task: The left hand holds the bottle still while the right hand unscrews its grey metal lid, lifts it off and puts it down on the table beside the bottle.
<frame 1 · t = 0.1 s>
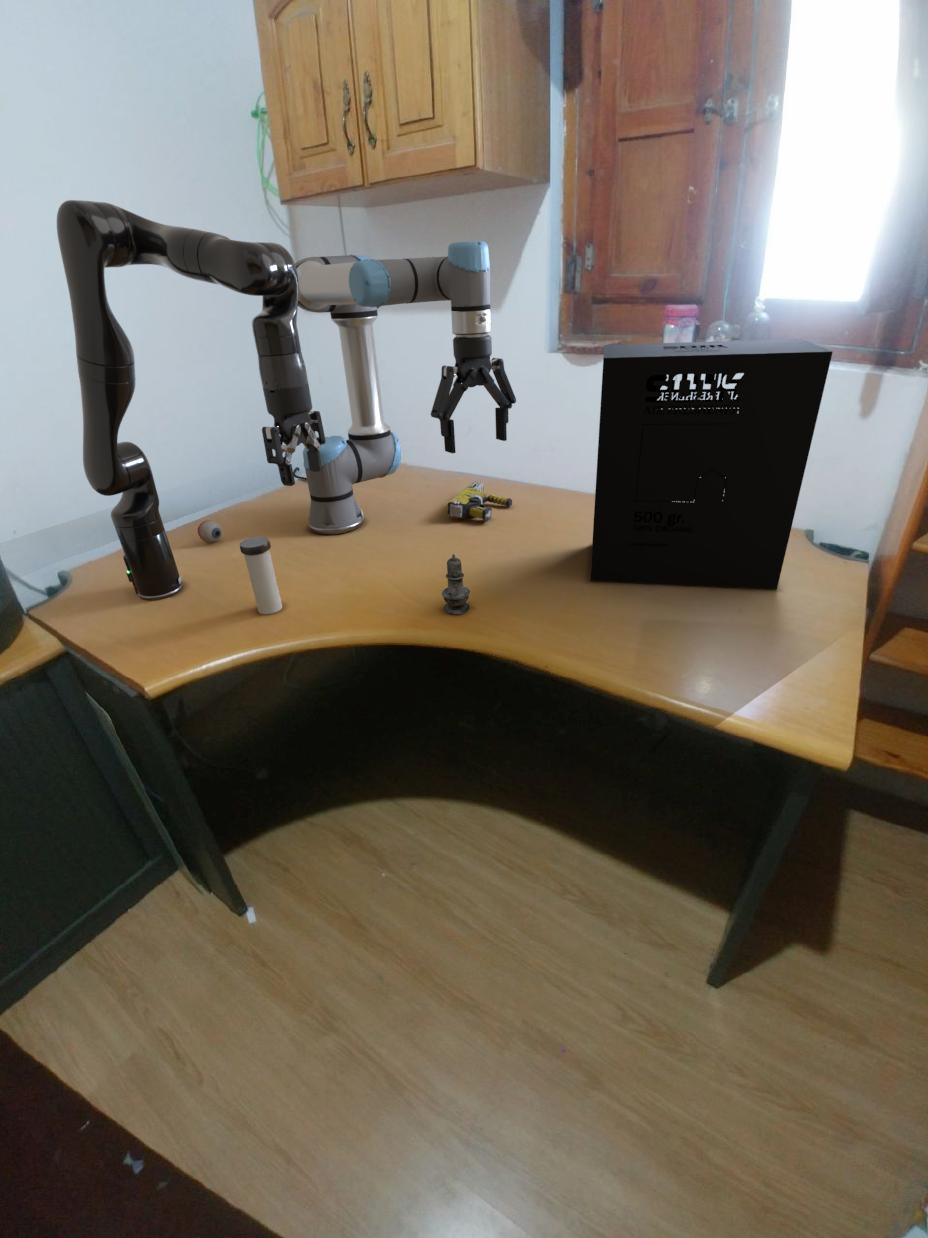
left hand: (303, 477, 109), 29 cm above the table, tool pointing down, fingers open, 8 cm apart
right hand: (476, 445, 127), 28 cm above the table, tool pointing down, fingers open, 13 cm apart
lid: (254, 543, 121), point 15 cm above the table, screwed on, not yet turned
dark grey tiered figure: (457, 608, 124), on the table
eyeball: (213, 542, 163), on the table
cardboard box: (676, 565, 136), on the table
bottle: (270, 608, 128), on the table
toy gun: (484, 508, 175), on the table
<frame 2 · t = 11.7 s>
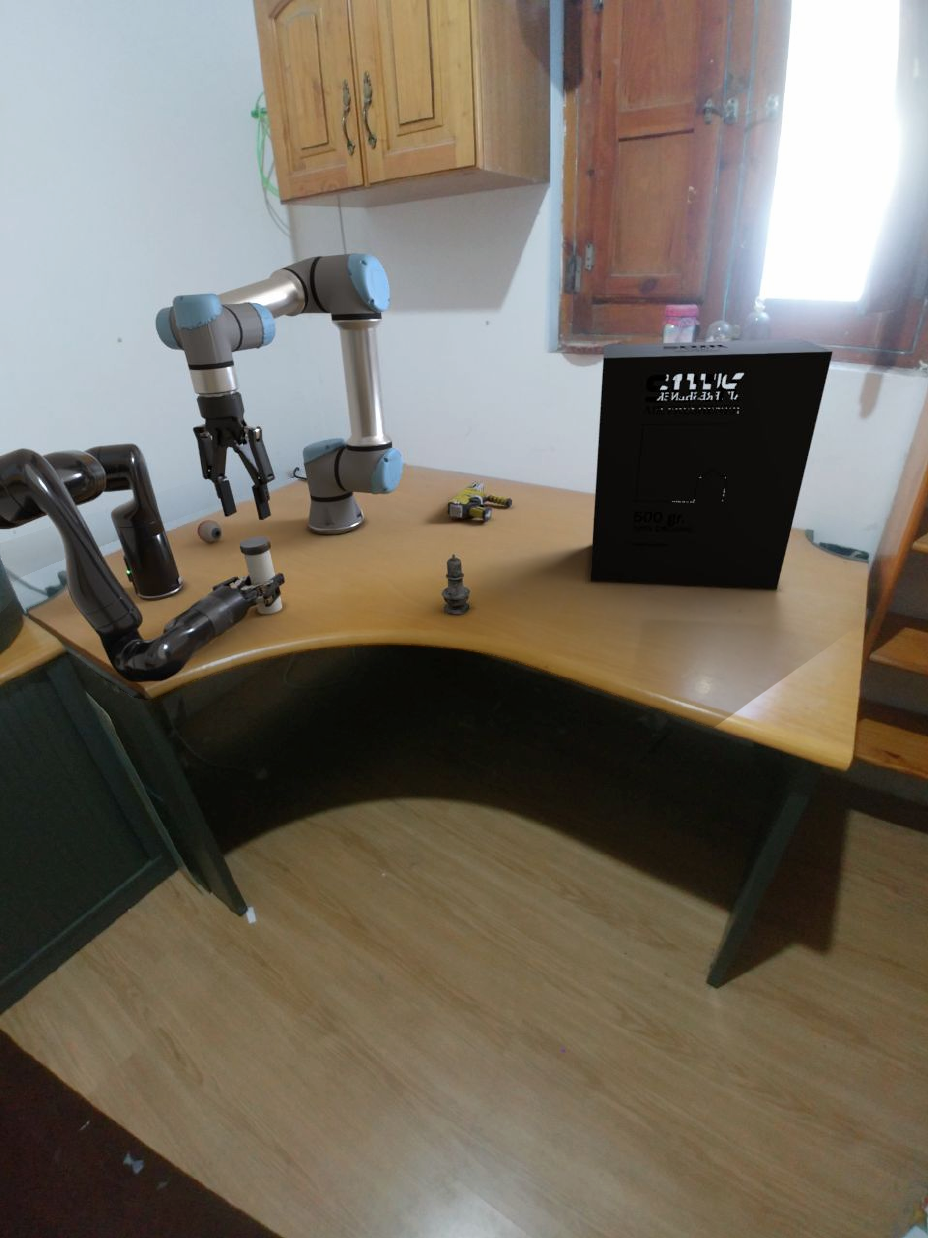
left hand: (271, 575, 127), 7 cm above the table, tool horizontal, fingers closed on bottle, 5 cm apart
right hand: (247, 515, 118), 21 cm above the table, tool pointing down, fingers open, 7 cm apart
bottle: (270, 608, 128), on the table, touching left hand
everything else where it was.
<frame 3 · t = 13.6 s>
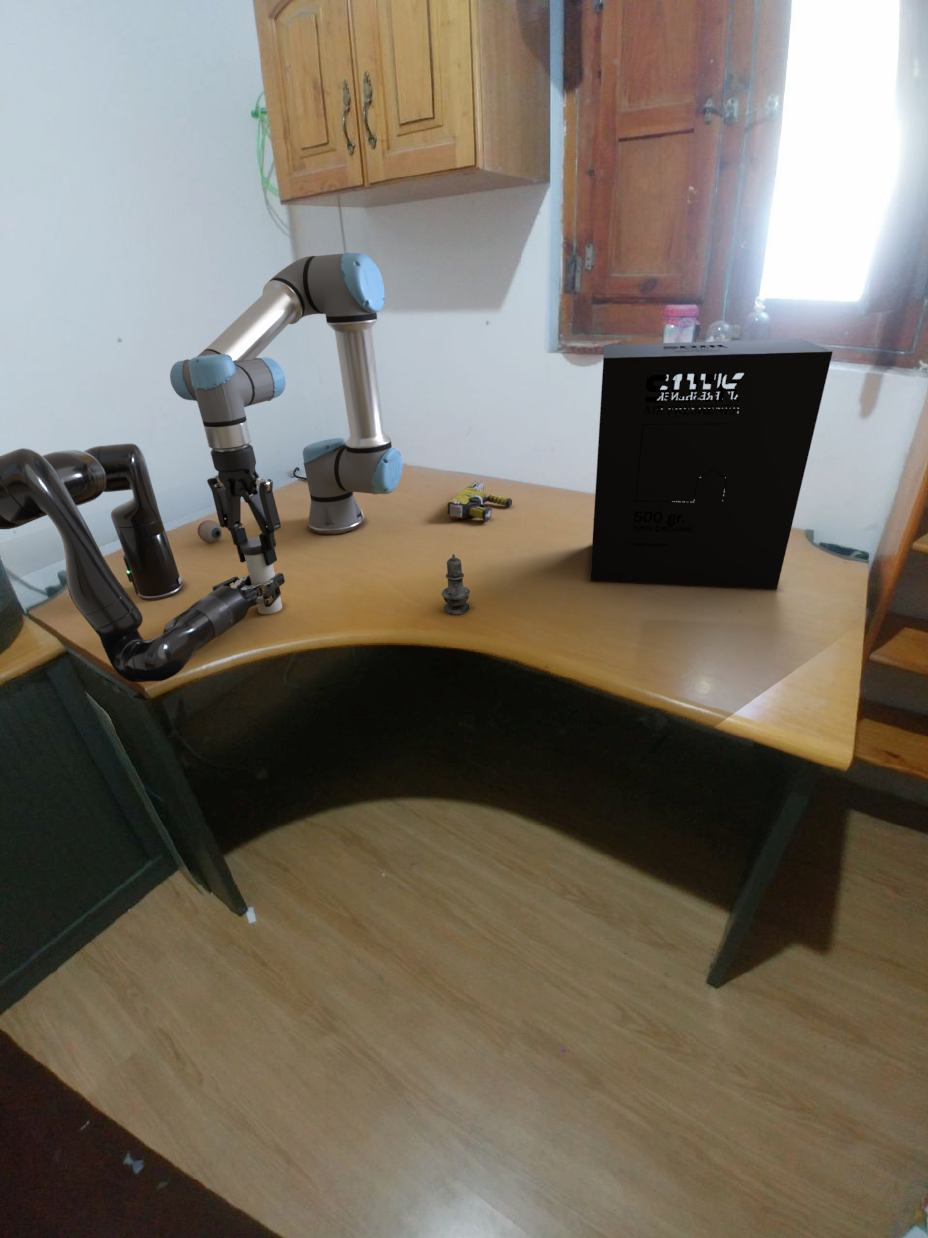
left hand: (271, 575, 127), 7 cm above the table, tool horizontal, fingers closed on bottle, 5 cm apart
right hand: (258, 560, 123), 11 cm above the table, tool pointing down, fingers closed on lid, 6 cm apart
lid: (254, 543, 121), point 15 cm above the table, screwed on, not yet turned, touching right hand
bottle: (270, 608, 128), on the table, touching left hand
everything else where it was.
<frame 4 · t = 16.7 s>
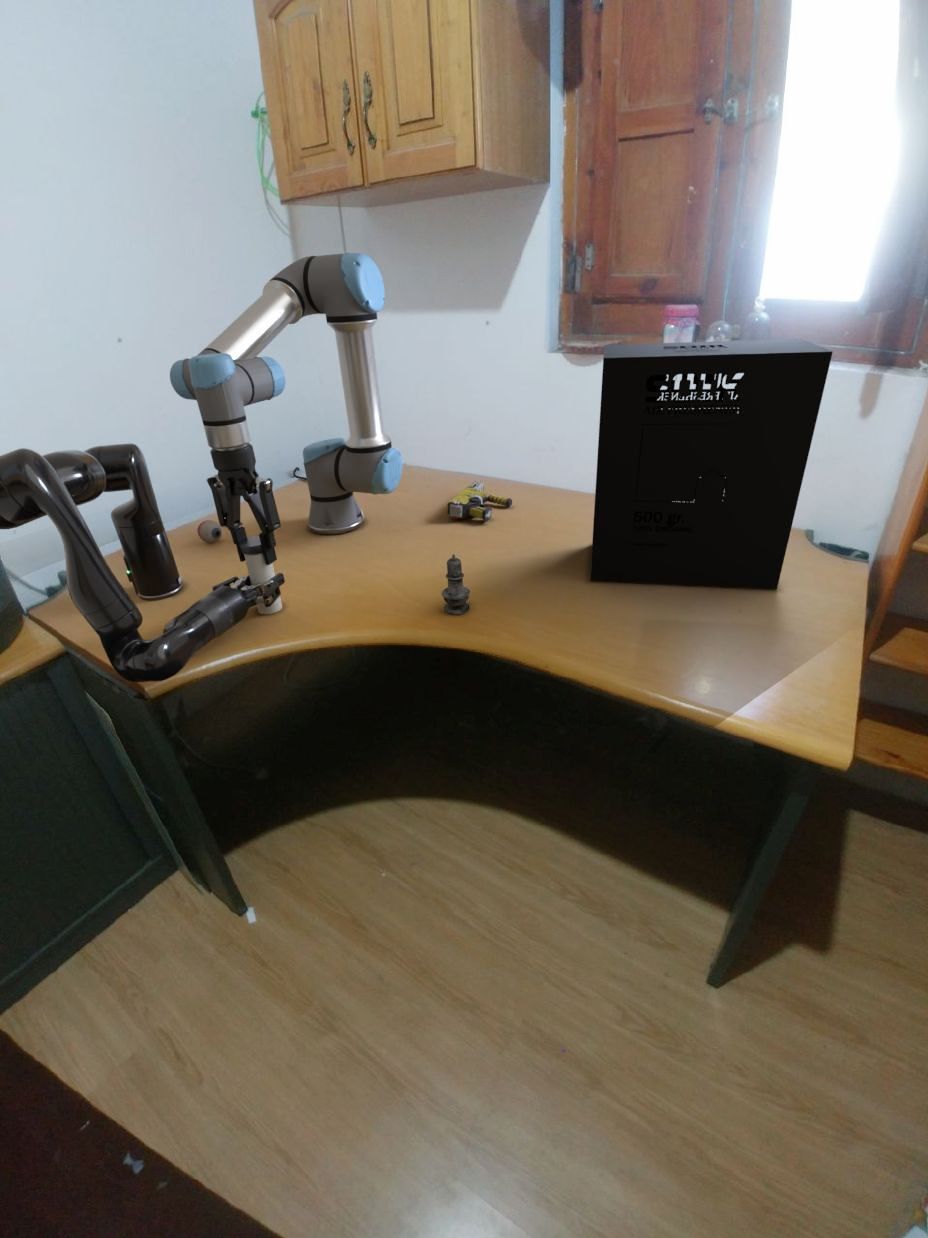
left hand: (271, 575, 127), 7 cm above the table, tool horizontal, fingers closed on bottle, 5 cm apart
right hand: (258, 560, 123), 11 cm above the table, tool pointing down, fingers closed on lid, 6 cm apart
lid: (254, 542, 121), point 15 cm above the table, turned 111° so far, risen 0.2 cm, still on its thread, touching right hand
bottle: (270, 608, 128), on the table, touching left hand
everything else where it was.
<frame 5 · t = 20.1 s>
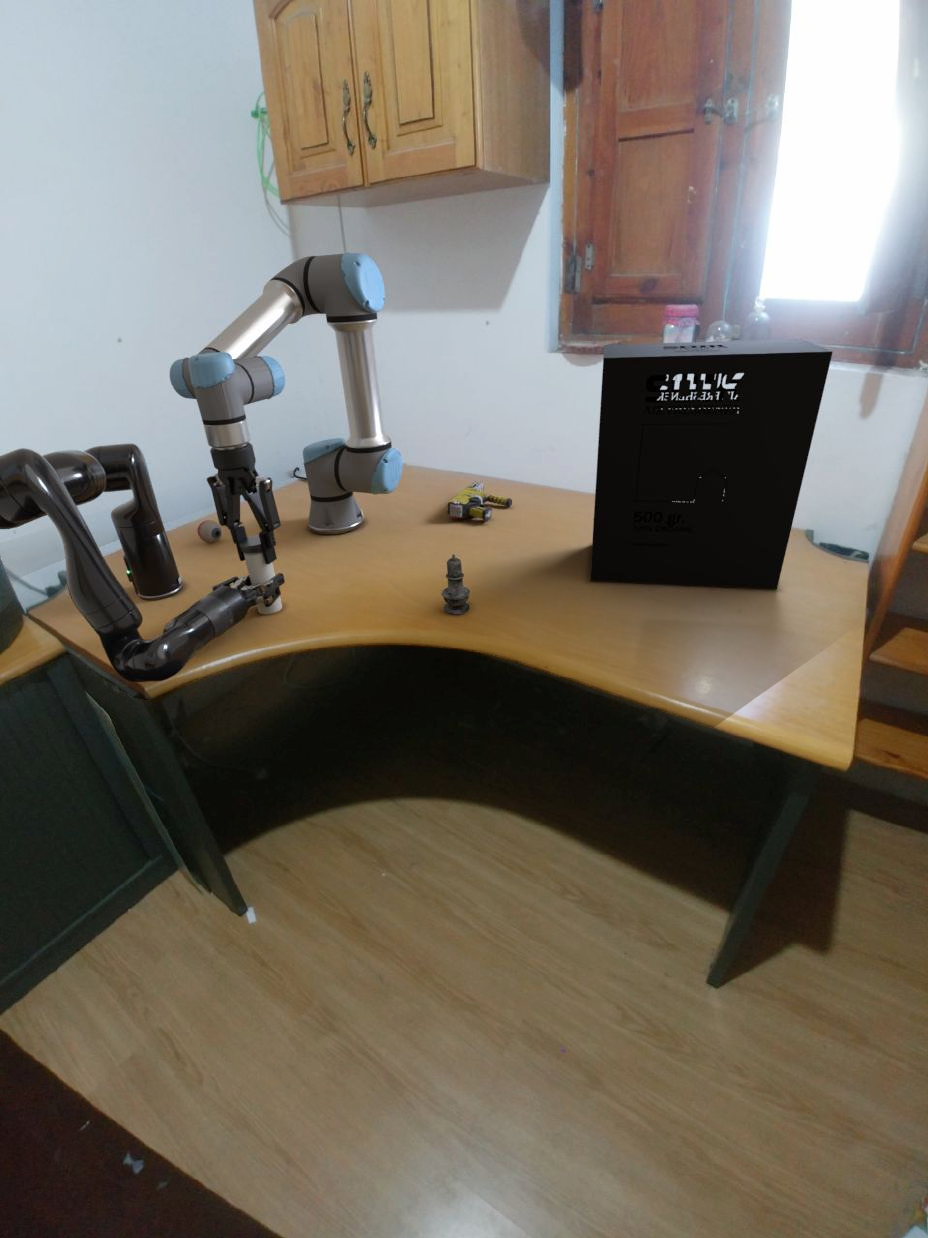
left hand: (271, 575, 127), 7 cm above the table, tool horizontal, fingers closed on bottle, 5 cm apart
right hand: (258, 559, 123), 11 cm above the table, tool pointing down, fingers closed on lid, 6 cm apart
lid: (254, 541, 121), point 15 cm above the table, turned 222° so far, risen 0.3 cm, still on its thread, touching right hand
bottle: (270, 608, 128), on the table, touching left hand
everything else where it was.
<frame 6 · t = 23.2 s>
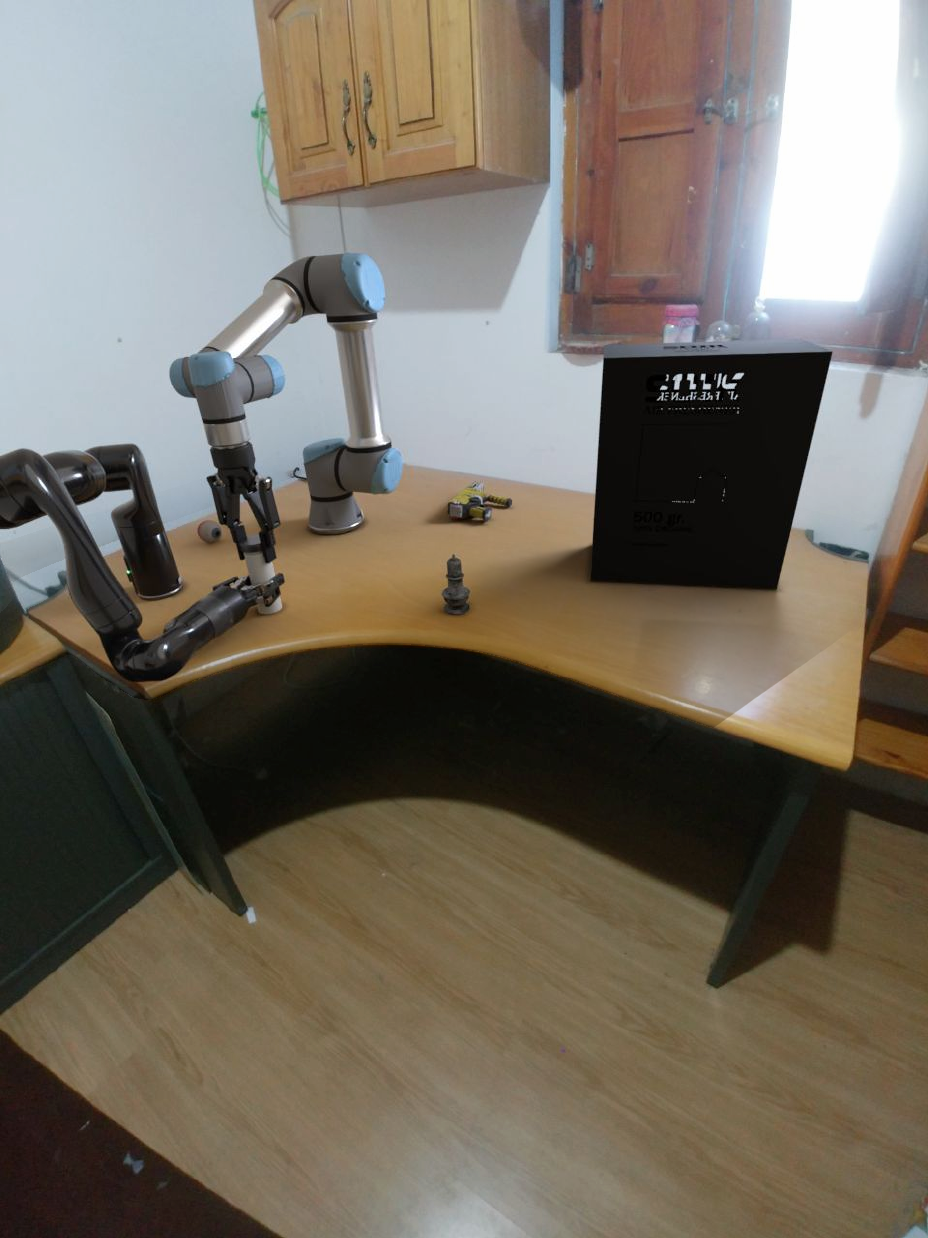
left hand: (271, 575, 127), 7 cm above the table, tool horizontal, fingers closed on bottle, 5 cm apart
right hand: (258, 558, 122), 12 cm above the table, tool pointing down, fingers closed on lid, 6 cm apart
lid: (254, 541, 121), point 15 cm above the table, turned 333° so far, risen 0.5 cm, still on its thread, touching right hand
bottle: (270, 608, 128), on the table, touching left hand
everything else where it was.
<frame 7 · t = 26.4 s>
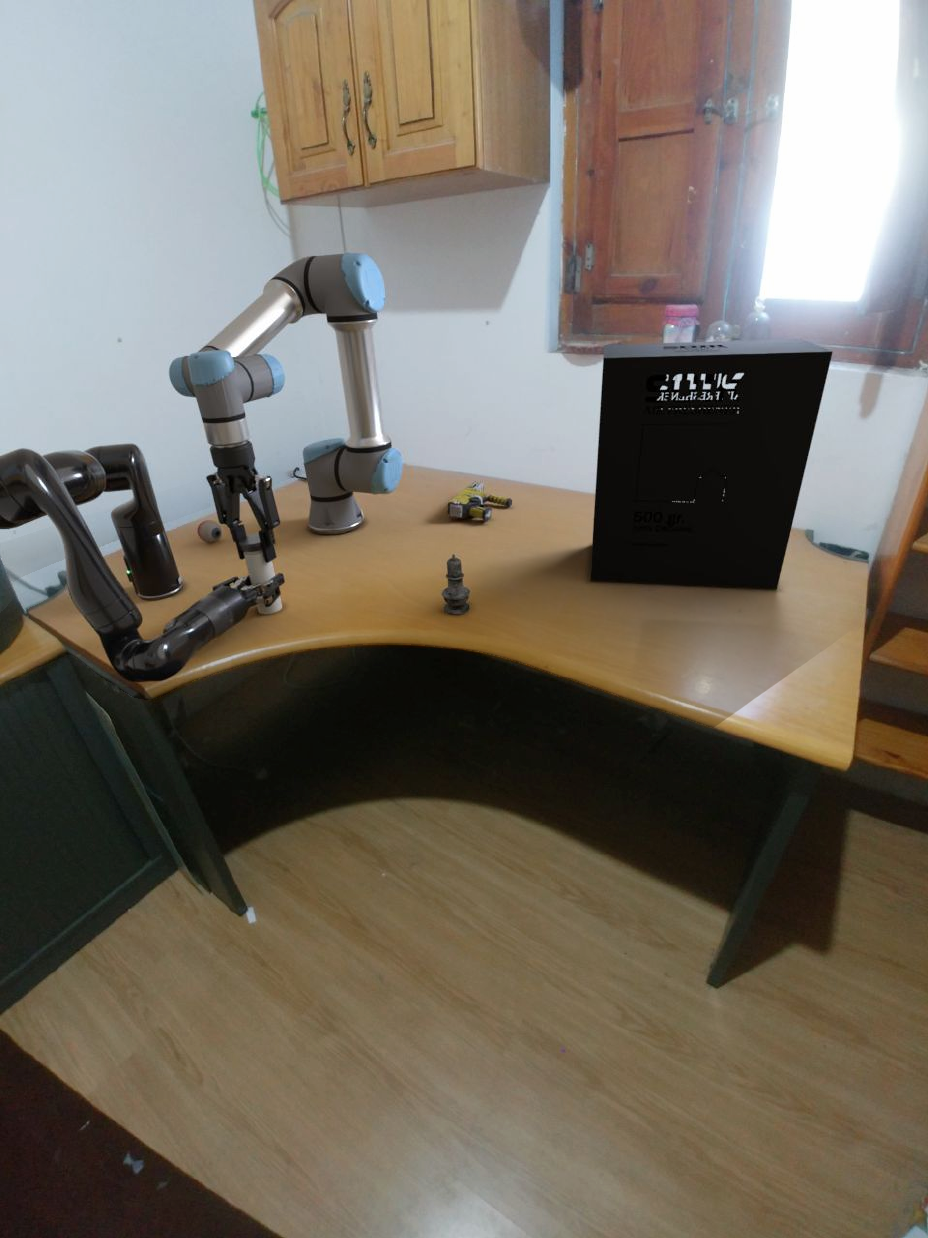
left hand: (271, 575, 127), 7 cm above the table, tool horizontal, fingers closed on bottle, 5 cm apart
right hand: (258, 558, 122), 12 cm above the table, tool pointing down, fingers closed on lid, 6 cm apart
lid: (253, 540, 120), point 16 cm above the table, turned 444° so far, risen 0.7 cm, still on its thread, touching right hand
bottle: (270, 608, 128), on the table, touching left hand
everything else where it was.
when the right hand's fingers open (0 cm above the table, at t = 33.9 s): lid drops 2 cm, point 1 cm above the table.
when the left hand's fingers open (7 cm above the table, at t = 34.6 s): bottle stays where it is, on the table.
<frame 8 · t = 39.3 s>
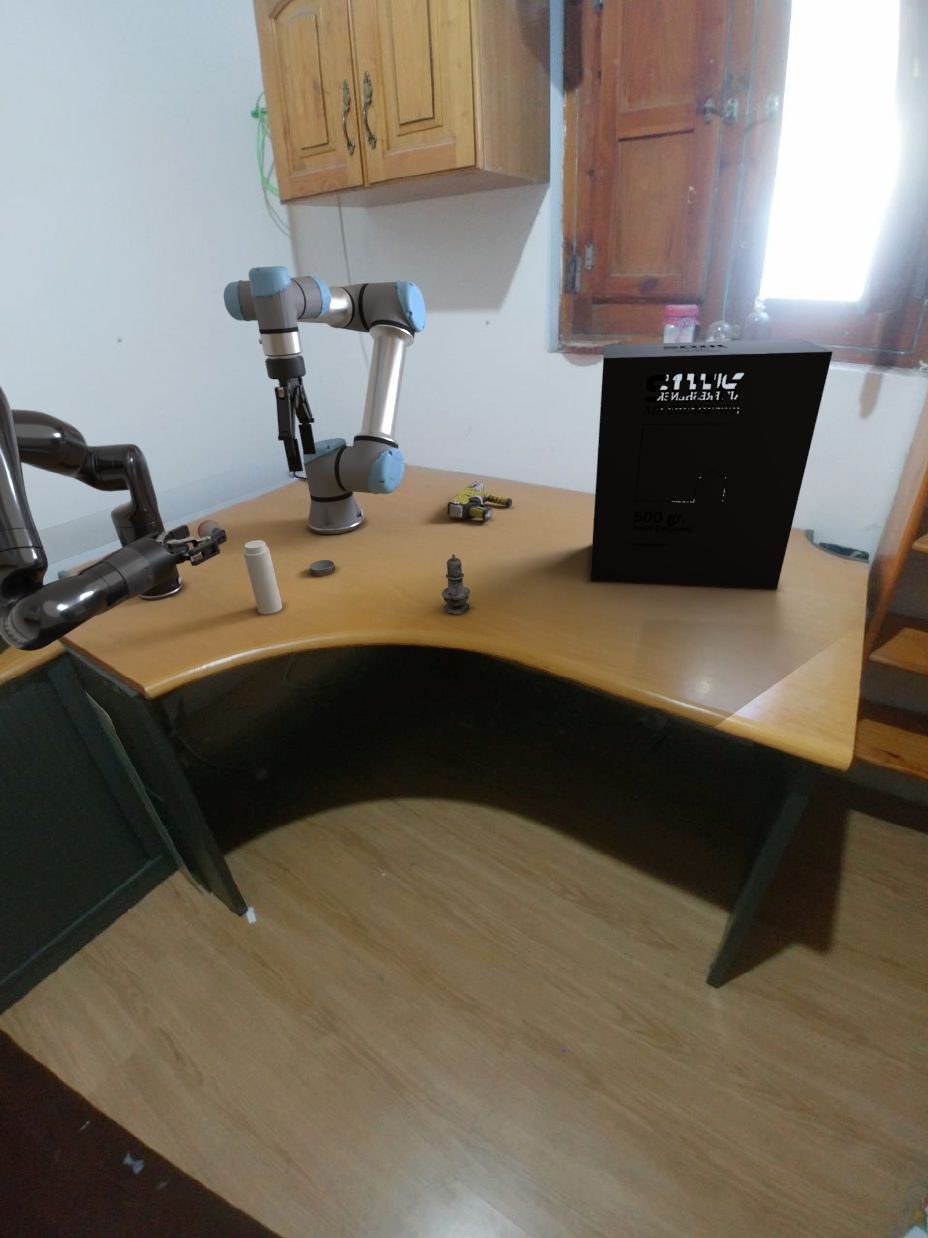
left hand: (205, 532, 108), 22 cm above the table, tool horizontal, fingers open, 8 cm apart
right hand: (303, 462, 131), 26 cm above the table, tool pointing down, fingers open, 13 cm apart
lid: (322, 566, 143), point 1 cm above the table, off its thread
bottle: (270, 608, 128), on the table
everything else where it was.
at the end: lid came off its thread; lid point 1.3 cm above the table; the left hand is holding nothing; the right hand is holding nothing; bottle tilted 0°; bottle moved 0.0 cm from its start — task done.
